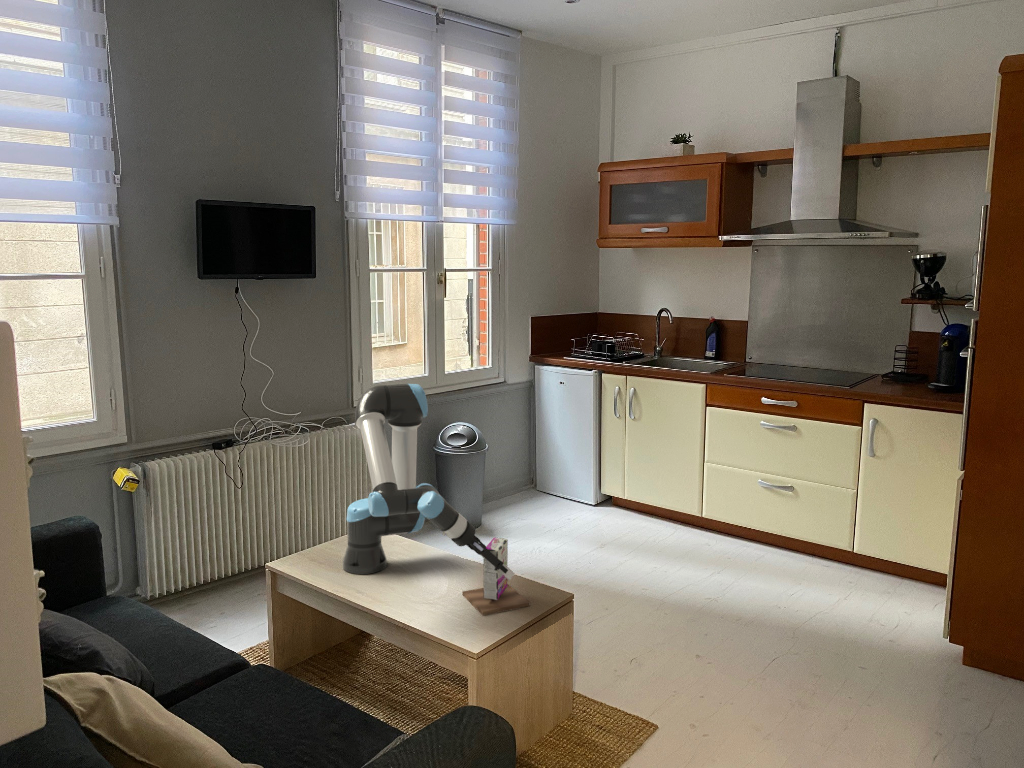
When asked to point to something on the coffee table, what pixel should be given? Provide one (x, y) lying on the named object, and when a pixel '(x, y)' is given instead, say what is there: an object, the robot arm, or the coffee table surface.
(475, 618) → the coffee table surface
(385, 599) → the coffee table surface
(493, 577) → the candy bar box
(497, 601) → the walnut board
